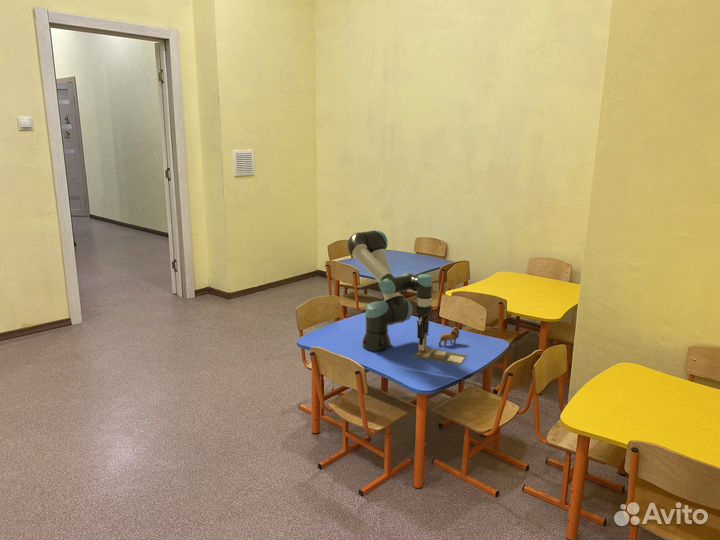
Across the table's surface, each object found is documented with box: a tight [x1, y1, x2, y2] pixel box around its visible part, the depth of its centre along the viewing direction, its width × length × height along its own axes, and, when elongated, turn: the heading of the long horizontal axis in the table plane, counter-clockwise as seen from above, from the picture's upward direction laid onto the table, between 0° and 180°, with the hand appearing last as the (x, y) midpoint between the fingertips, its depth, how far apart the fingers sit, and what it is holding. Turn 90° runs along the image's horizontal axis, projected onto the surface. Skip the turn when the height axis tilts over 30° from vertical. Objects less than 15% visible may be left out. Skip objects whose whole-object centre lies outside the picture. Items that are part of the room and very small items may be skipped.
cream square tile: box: [434, 350, 448, 359], centre depth 271 cm, size 5×5×2 cm
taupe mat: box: [412, 347, 469, 367], centre depth 271 cm, size 25×14×1 cm, turn 65°
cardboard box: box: [417, 332, 433, 358], centre depth 273 cm, size 6×9×11 cm, turn 155°
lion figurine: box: [438, 326, 460, 348], centre depth 286 cm, size 15×5×9 cm, turn 131°
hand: (422, 348), depth 274 cm, fingers closed on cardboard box, 3 cm apart
